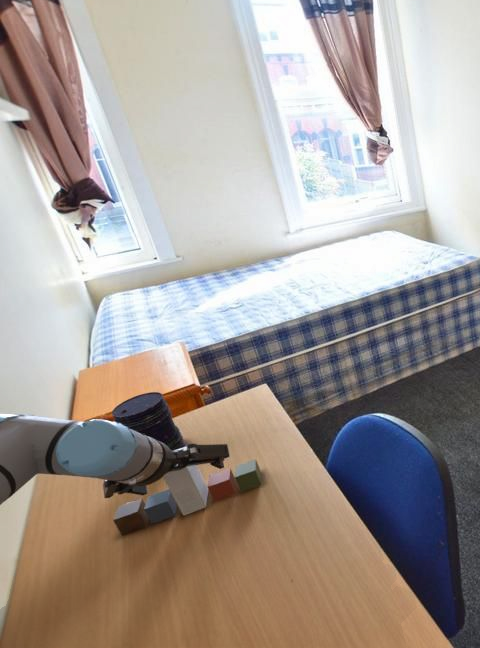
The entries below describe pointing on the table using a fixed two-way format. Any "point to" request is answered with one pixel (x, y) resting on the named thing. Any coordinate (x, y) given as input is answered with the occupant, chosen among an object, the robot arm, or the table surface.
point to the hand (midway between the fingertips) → (183, 474)
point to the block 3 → (222, 484)
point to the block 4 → (248, 475)
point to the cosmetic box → (187, 488)
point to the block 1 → (131, 516)
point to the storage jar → (150, 419)
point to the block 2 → (160, 506)
